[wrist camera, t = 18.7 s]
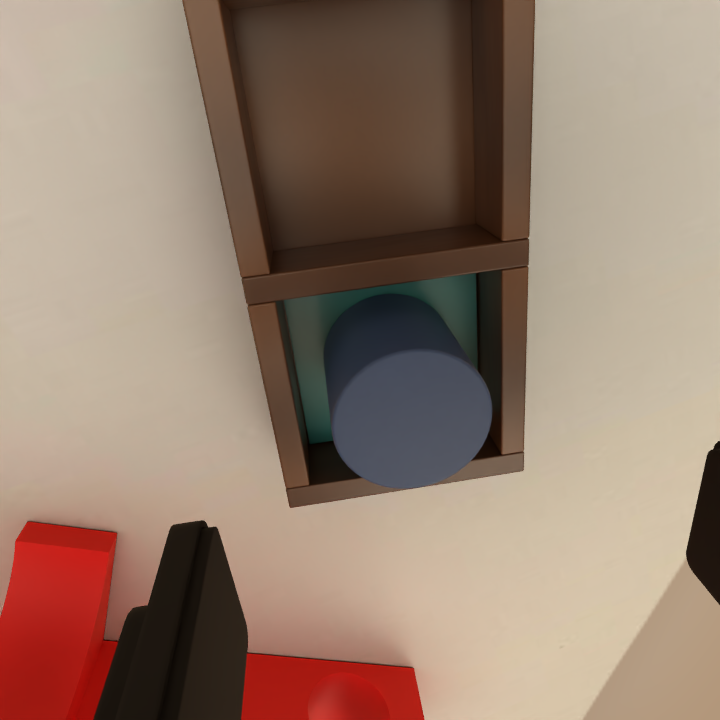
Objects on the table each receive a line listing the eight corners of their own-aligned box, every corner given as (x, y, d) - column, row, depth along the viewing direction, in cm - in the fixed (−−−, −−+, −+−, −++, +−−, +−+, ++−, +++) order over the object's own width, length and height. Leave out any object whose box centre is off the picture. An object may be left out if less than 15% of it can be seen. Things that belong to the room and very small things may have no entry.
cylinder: (314, 302, 18) (321, 363, 14) (448, 284, 18) (493, 337, 14) (332, 418, 20) (342, 501, 16) (453, 400, 20) (493, 477, 16)
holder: (196, -18, 15) (171, -47, 12) (490, -51, 15) (538, -87, 12) (290, 451, 21) (289, 508, 18) (492, 420, 22) (524, 471, 19)
